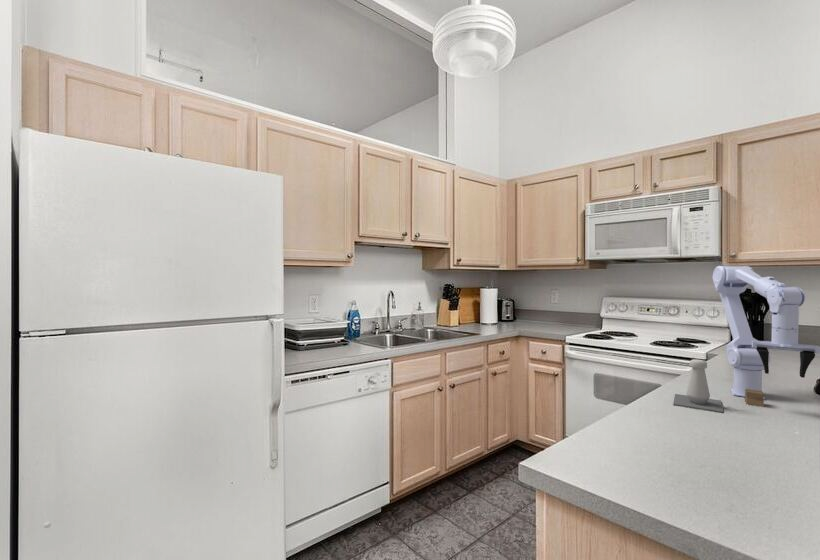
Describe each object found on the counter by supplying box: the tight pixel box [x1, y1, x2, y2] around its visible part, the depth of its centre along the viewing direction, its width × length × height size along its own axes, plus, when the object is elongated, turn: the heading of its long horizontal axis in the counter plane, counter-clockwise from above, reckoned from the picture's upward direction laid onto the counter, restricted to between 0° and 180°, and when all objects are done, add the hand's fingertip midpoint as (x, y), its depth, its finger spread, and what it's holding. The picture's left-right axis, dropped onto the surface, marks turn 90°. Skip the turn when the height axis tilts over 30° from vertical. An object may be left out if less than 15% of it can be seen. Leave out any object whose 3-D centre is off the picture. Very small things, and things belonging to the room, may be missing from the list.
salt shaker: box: [686, 358, 711, 405], centre depth 124 cm, size 6×6×13 cm
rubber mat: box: [672, 393, 724, 414], centre depth 125 cm, size 13×12×1 cm
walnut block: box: [744, 389, 765, 408], centre depth 125 cm, size 4×4×4 cm
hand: (784, 374), depth 119 cm, fingers open, 7 cm apart
